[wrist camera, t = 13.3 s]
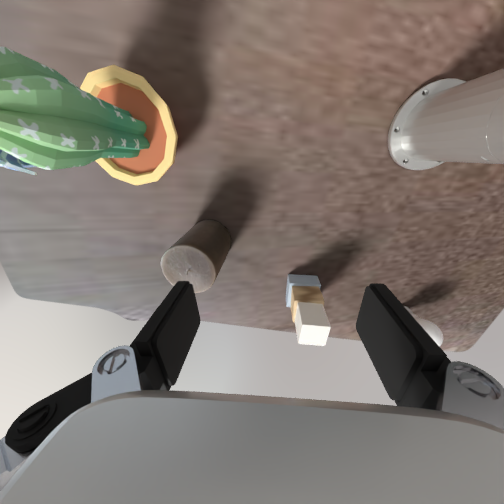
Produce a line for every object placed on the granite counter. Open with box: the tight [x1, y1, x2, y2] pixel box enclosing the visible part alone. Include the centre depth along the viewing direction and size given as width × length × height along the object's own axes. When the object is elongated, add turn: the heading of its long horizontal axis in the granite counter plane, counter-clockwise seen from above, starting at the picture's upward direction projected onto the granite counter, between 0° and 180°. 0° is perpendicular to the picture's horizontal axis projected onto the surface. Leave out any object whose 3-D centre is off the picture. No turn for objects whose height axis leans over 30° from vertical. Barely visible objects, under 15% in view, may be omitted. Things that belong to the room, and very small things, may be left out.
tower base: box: [286, 274, 321, 307], centre depth 47 cm, size 7×7×4 cm
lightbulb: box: [404, 306, 443, 347], centre depth 44 cm, size 6×6×11 cm
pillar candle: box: [160, 220, 231, 293], centre depth 39 cm, size 10×10×15 cm
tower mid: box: [291, 286, 324, 322], centre depth 43 cm, size 6×6×5 cm
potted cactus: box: [0, 47, 178, 185], centre depth 25 cm, size 16×15×25 cm
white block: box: [295, 302, 331, 346], centre depth 38 cm, size 5×5×6 cm
